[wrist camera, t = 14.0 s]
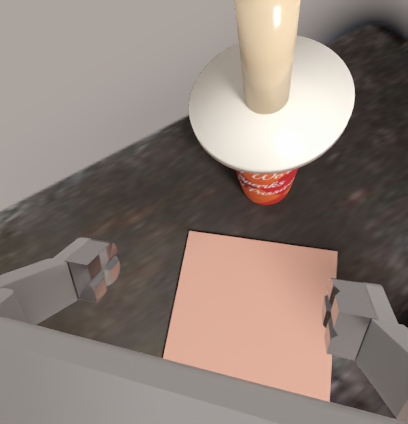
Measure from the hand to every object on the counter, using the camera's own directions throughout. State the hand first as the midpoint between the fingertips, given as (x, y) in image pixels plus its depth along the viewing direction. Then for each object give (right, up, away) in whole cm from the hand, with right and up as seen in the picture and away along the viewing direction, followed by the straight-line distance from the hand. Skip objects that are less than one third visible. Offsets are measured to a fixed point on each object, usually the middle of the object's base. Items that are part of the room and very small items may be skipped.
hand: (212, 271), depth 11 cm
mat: (+4, -9, +18) cm, 20 cm away
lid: (+4, +10, +9) cm, 14 cm away
